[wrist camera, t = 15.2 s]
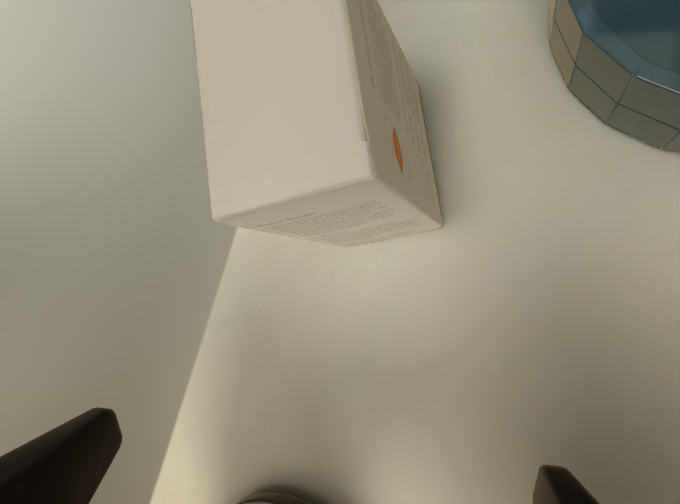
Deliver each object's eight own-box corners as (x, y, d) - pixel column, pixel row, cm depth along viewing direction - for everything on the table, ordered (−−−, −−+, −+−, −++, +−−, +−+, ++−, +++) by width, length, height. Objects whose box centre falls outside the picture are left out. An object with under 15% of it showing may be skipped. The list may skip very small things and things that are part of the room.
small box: (326, 116, 22) (184, -7, 13) (420, 82, 20) (332, -99, 11) (345, 250, 21) (204, 224, 12) (446, 230, 19) (374, 177, 9)
